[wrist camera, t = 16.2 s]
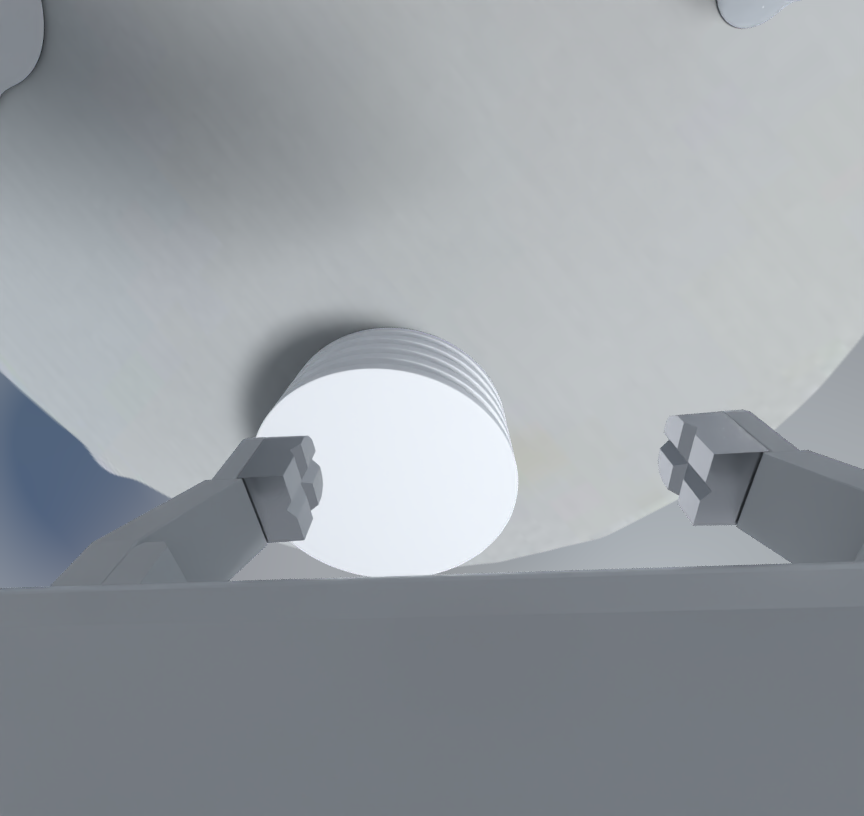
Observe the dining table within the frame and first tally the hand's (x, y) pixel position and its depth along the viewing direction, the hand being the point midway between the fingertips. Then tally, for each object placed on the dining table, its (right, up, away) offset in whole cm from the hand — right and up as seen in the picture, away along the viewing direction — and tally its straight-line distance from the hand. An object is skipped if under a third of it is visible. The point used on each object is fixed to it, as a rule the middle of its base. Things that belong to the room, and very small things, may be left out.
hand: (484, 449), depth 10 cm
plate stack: (-6, -2, +44) cm, 45 cm away
